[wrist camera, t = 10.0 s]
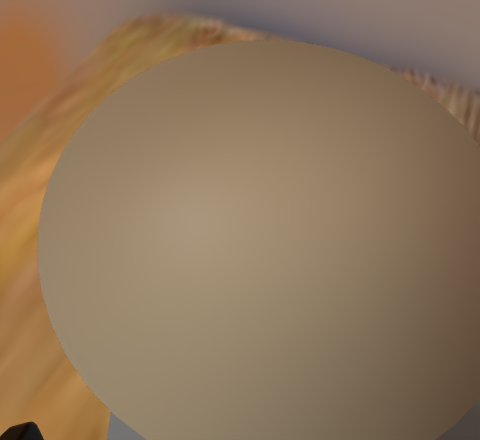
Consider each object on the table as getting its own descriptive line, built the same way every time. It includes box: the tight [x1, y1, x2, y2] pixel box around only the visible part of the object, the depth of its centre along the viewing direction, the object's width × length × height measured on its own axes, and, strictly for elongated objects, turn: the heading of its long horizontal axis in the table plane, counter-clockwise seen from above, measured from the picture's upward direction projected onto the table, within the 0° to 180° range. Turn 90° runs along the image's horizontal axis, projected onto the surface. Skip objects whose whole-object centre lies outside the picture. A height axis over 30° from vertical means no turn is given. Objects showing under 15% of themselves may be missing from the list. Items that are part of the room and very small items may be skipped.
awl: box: [37, 40, 480, 440], centre depth 9 cm, size 4×4×13 cm
